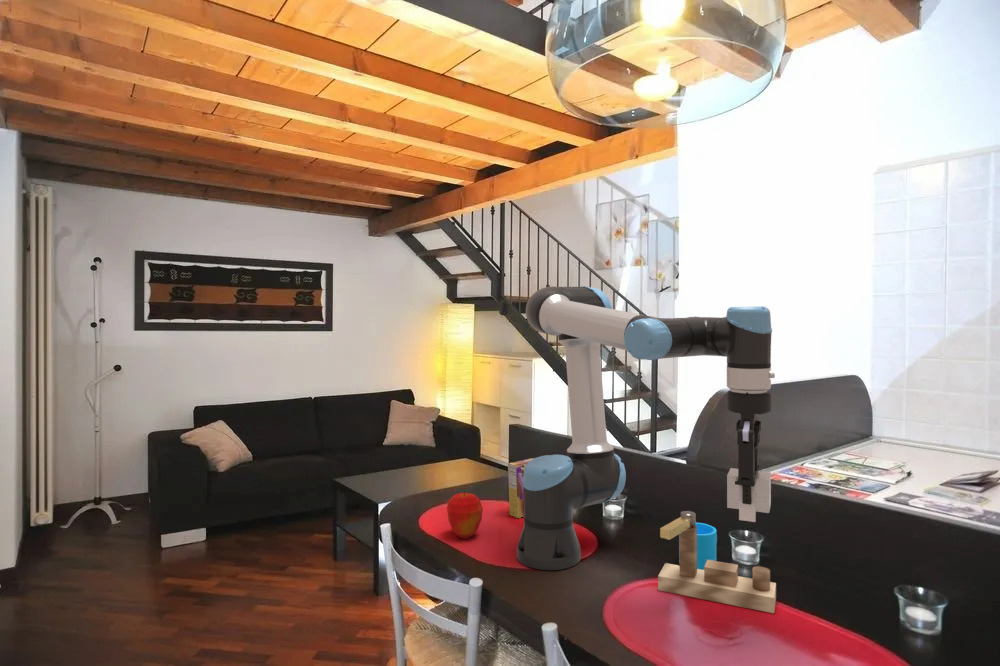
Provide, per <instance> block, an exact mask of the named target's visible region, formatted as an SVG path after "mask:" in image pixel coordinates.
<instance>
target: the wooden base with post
mask: <svg viewBox="0 0 1000 666" xmlns="http://www.w3.org/2000/svg"><path fill="white" fill-rule="evenodd" d="M678 537H679V538H678V547H679V548H678V550H679V549H680V563H679V565H678V564H673V563H668V562H664V565H663V567H662V568H661V570H660V572H659V574H658V575H657V590H658V591H660V592H661V591H662V592H666V593H672V594H676V595H681V596H686V597H691V598H695V599H700V600H705V601H711V602H716V603H719V604H720V603H721V604H726V605H730V606H735V607H740V608H745V609H750V610H755V611H759V612H765V613H769V614H775V611H776V610H775V609H776V601H777V583H776V582H772V581H771V569H770V568H768V567H766V566H765V567H764V566H761V565H760V566H757V565H756V566H753V567H752V568H751V569H752V571H751V572H752V578H751V577H745V576H739V564H736V563H730V562H724V561H717V560H716V561H713V560H707V562H706V564H705V566H704V570H701V569H697V525H696V526H695V527H690V528H688V529H687V530H685V531H683V532H682V533H680V534H679V535H678Z"/></svg>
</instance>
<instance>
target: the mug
mask: <svg viewBox="0 0 1000 666" xmlns="http://www.w3.org/2000/svg"><path fill="white" fill-rule="evenodd" d="M696 525H697V569H701V570H704V566H705V564H706V562H707V560H713V561H717V543H718V542H717V541H718V534H717V529H716V527H714V526H712V525H710V524H707V523H702V522H696ZM678 551H679V553H678V555H679V556H678V558H679V559H678V563H679V564H680V549H679V548H678Z"/></svg>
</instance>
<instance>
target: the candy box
mask: <svg viewBox="0 0 1000 666" xmlns="http://www.w3.org/2000/svg"><path fill="white" fill-rule="evenodd" d="M532 459H533V458H527V459H523V460H517V461H515V462H514V461H513V462H510V463H507V473H508V475H507V477H508V500H509V501H508V503H509V505H508V507H509V509H508V510H509V516H510V515H511V517H512V516H514V517H513V518H515V517H516V518H515V519H517V518H519V519H522V518H521V517H523V518H524V491H523V475H524V468H525V465H526V464H527V463H528V462H529V461H530V460H532Z"/></svg>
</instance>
